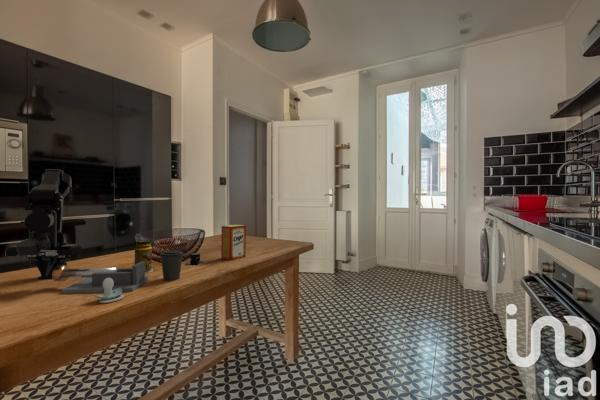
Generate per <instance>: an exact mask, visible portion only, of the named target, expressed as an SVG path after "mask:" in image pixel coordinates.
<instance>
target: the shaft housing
mask: <svg viewBox="0 0 600 400" xmlns="http://www.w3.org/2000/svg"><path fill="white" fill-rule="evenodd" d="M117 268H118V272H101V273H93V274H92V278H82V280H79V281H76V282H75V283H73V284H71V285H68V286H67V287H65V288H62V289H61V295H62V294H90V293H91V294H92V293H104V288H103V285H102V283H103V281H104V280H105V279H106V278H111V279H112V280H113V282H114V285H113V287H112V290H114V289H116V288H121V289H122V293H125V292H126V293H129V292H133V291H135V290H137V289H138V288H139V287H141V286H142V285H143V284H144V283H146V282H147V281H148V280H149V276H148V275H146V273H145V261H141V262H139V263H137V264H135V263H134V265H132V267H117Z"/></svg>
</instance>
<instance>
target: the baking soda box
mask: <svg viewBox="0 0 600 400" xmlns="http://www.w3.org/2000/svg"><path fill="white" fill-rule="evenodd" d="M246 227H247V225H245V224H244V225H243V224H226V225H221V240H220V241H221V246H220V247H221V252H220V253H221V255H220V256H221V258H220V259H222V260H226V261H235V260H238V258H239V259H242V257H244V258H246V250H247V249H246V243H247V242H246V240H247V239H246V236H247V235H246V234H247V233H246V232H247V231H246V230H247V228H246ZM234 259H235V260H234Z"/></svg>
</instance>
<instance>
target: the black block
mask: <svg viewBox="0 0 600 400" xmlns="http://www.w3.org/2000/svg"><path fill="white" fill-rule="evenodd" d="M204 262H205V260H201V253H200V252H198V253H197V252H196V253H195V252H193V253H191V254H190V256H189V262H187V264H185V266H199V265H200V264H202V263H204Z"/></svg>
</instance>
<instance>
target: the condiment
mask: <svg viewBox="0 0 600 400" xmlns="http://www.w3.org/2000/svg"><path fill="white" fill-rule="evenodd" d="M141 261H145V274H146V273H152V272H154V269H153V247H152V241H151V240H150V239H143V240H142V239H141V240H137V241H135V249H134V265H135V264H137V263H139V262H141Z"/></svg>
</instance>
